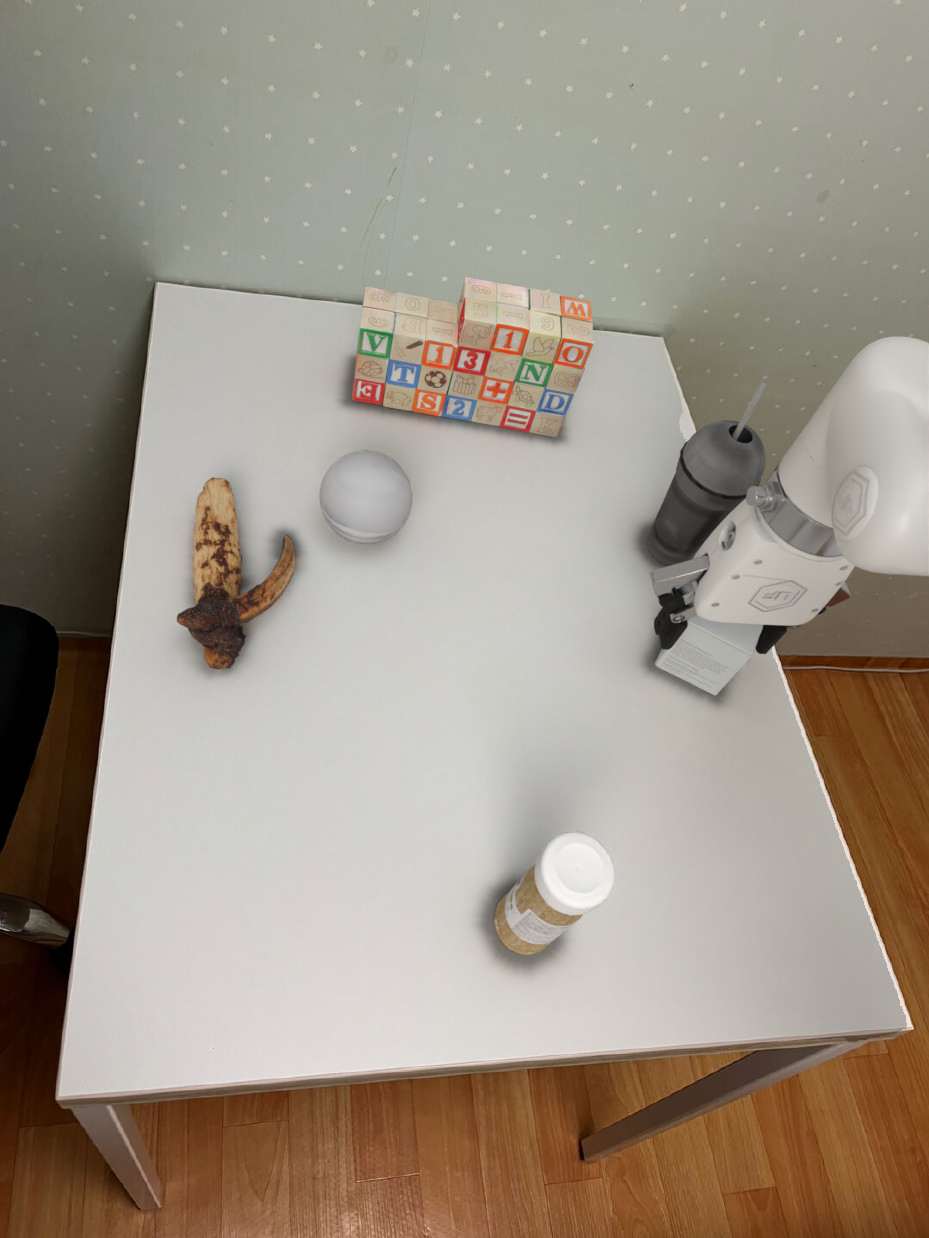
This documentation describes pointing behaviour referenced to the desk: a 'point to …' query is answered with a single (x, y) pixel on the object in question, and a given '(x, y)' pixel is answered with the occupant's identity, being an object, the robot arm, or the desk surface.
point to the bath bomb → (365, 497)
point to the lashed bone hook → (226, 578)
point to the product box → (710, 652)
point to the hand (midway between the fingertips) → (710, 636)
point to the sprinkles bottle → (555, 892)
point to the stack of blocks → (475, 354)
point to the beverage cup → (707, 485)
